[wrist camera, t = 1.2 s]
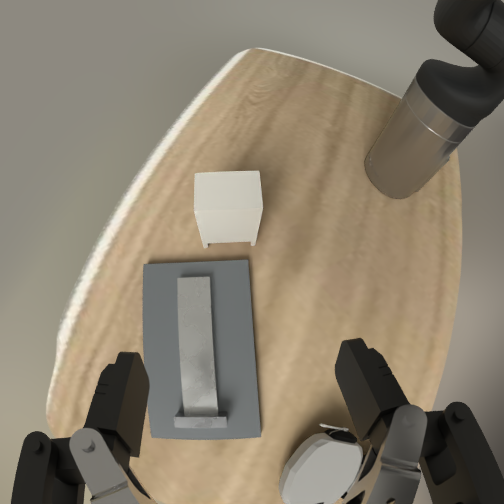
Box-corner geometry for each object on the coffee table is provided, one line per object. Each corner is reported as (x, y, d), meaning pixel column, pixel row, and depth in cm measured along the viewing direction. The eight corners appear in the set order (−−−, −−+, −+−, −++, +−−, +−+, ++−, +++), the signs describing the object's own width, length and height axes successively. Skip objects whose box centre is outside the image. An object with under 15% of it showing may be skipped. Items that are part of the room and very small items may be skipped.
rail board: (247, 262, 32) (248, 259, 31) (260, 434, 26) (261, 437, 25) (146, 266, 31) (143, 264, 30) (153, 434, 25) (151, 437, 24)
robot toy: (398, 435, 27) (304, 413, 27) (418, 443, 23) (318, 423, 23) (358, 507, 23) (259, 495, 23) (373, 521, 19) (266, 514, 19)
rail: (218, 278, 30) (217, 272, 28) (227, 423, 25) (227, 429, 23) (171, 280, 30) (166, 274, 28) (179, 423, 25) (175, 429, 23)
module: (252, 213, 34) (259, 169, 26) (255, 245, 33) (263, 208, 24) (203, 215, 34) (195, 171, 25) (203, 247, 33) (193, 210, 24)
